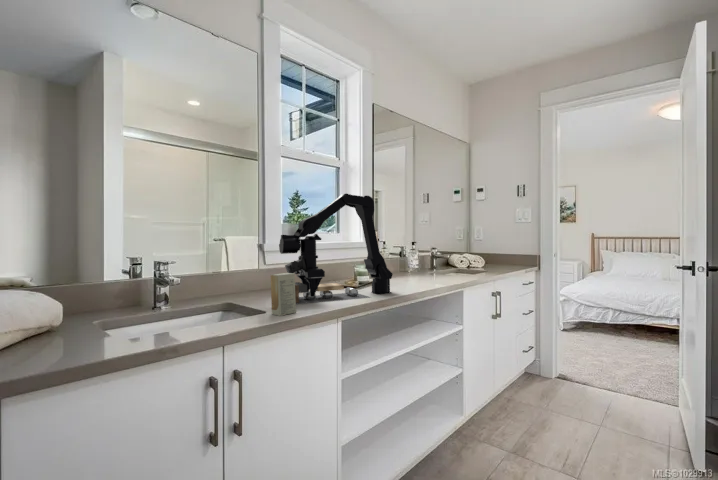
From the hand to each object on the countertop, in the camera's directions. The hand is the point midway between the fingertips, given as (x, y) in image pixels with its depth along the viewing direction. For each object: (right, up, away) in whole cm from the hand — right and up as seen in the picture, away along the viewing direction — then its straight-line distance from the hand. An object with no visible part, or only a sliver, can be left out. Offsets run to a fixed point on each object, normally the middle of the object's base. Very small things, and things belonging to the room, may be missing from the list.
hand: (309, 295), depth 138 cm
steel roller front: (+5, -1, +2) cm, 5 cm away
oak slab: (+6, +2, +3) cm, 7 cm away
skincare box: (-5, -2, -24) cm, 25 cm away
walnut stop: (-5, -2, -2) cm, 6 cm away
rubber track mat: (+6, -2, +3) cm, 7 cm away
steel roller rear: (+17, 0, +8) cm, 19 cm away
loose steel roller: (0, -2, 0) cm, 2 cm away
